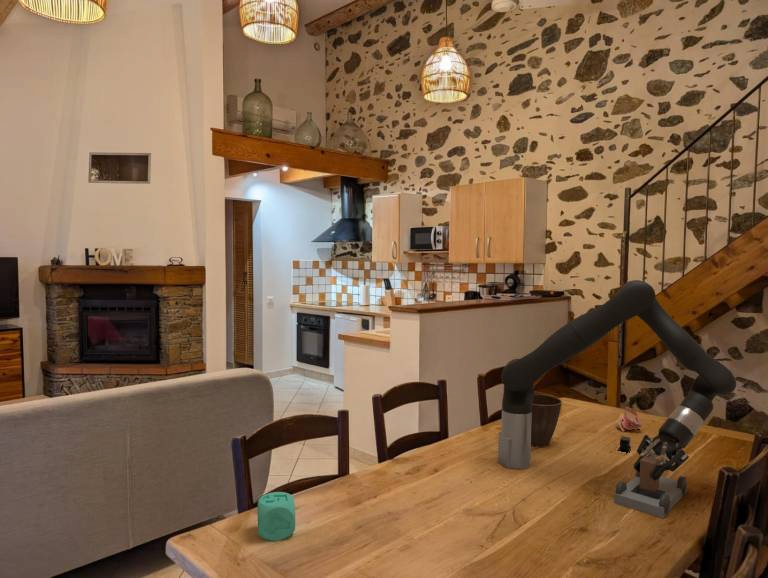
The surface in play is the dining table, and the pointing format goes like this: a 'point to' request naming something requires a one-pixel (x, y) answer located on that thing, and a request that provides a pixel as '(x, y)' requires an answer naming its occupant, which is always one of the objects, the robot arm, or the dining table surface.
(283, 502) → the decorative dice
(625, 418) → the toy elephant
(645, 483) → the wooden block
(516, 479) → the dining table surface
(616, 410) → the dining table surface
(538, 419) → the plant pot
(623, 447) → the black block
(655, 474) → the robot arm
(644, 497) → the chassis
